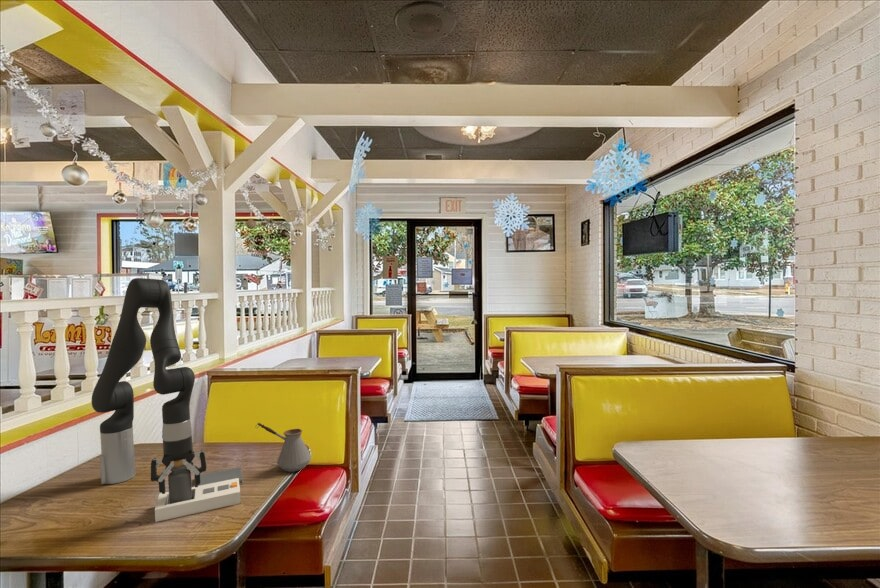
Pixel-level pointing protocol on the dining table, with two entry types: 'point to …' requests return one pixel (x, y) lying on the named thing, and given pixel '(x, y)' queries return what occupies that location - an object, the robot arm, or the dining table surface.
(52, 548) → the dining table surface
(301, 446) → the coffee pot
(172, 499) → the bottle
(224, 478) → the mat
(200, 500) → the power strip
